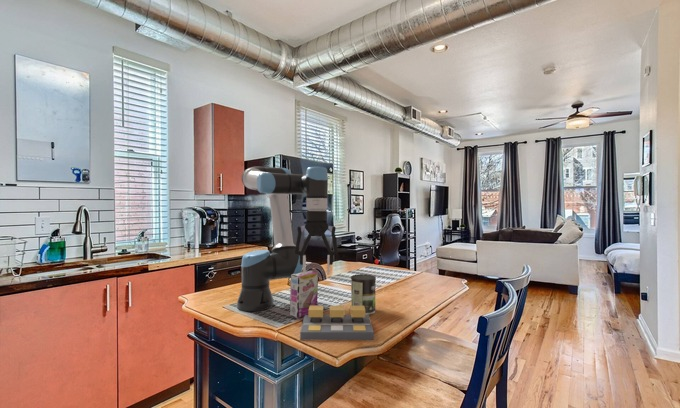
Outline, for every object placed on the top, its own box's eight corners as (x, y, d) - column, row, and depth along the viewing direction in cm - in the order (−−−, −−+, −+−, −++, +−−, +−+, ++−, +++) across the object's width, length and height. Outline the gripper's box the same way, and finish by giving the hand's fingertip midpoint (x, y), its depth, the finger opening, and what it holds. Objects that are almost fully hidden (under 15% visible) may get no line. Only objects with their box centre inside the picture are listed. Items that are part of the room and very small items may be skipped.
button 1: (308, 323, 111) (308, 310, 111) (309, 318, 116) (309, 305, 116) (322, 323, 111) (322, 310, 111) (323, 318, 116) (323, 305, 116)
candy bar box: (298, 319, 121) (298, 276, 121) (289, 316, 124) (289, 274, 124) (318, 311, 130) (318, 271, 130) (309, 309, 133) (309, 270, 133)
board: (300, 339, 103) (300, 331, 103) (304, 321, 119) (304, 314, 119) (373, 339, 103) (373, 331, 103) (368, 321, 119) (368, 314, 119)
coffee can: (376, 307, 135) (376, 274, 135) (374, 316, 125) (374, 280, 125) (352, 305, 138) (353, 273, 137) (348, 314, 127) (348, 279, 127)
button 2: (329, 323, 111) (329, 310, 111) (330, 318, 116) (330, 305, 116) (344, 323, 111) (344, 310, 111) (343, 318, 116) (343, 305, 116)
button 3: (351, 323, 111) (351, 310, 111) (350, 318, 116) (350, 305, 116) (365, 323, 111) (365, 310, 111) (364, 318, 116) (364, 305, 116)
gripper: (286, 210, 110) (285, 276, 110) (346, 210, 110) (345, 276, 110) (289, 209, 117) (288, 271, 117) (345, 210, 117) (344, 271, 118)
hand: (316, 273), depth 114 cm, fingers open, 8 cm apart
